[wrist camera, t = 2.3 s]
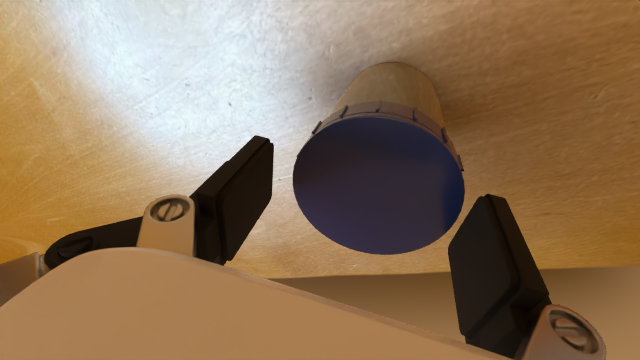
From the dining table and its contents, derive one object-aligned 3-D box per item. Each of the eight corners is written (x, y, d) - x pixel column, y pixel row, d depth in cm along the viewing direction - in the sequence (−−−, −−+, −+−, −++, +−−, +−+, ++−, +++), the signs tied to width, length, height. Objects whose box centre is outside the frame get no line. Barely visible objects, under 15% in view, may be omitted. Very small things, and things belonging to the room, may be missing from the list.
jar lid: (491, 123, 10) (503, 143, 9) (424, 246, 14) (426, 272, 13) (312, 82, 11) (298, 95, 10) (297, 209, 15) (286, 230, 14)
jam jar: (455, 73, 17) (489, 141, 9) (418, 162, 21) (422, 260, 13) (352, 52, 18) (308, 99, 10) (335, 141, 21) (294, 222, 14)
